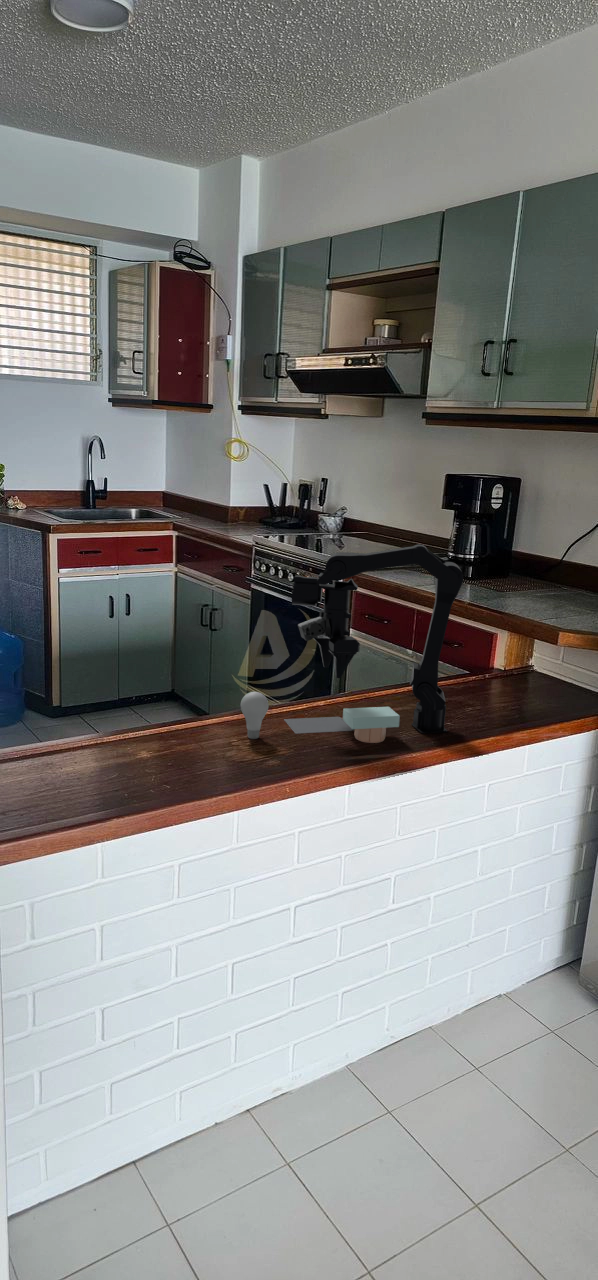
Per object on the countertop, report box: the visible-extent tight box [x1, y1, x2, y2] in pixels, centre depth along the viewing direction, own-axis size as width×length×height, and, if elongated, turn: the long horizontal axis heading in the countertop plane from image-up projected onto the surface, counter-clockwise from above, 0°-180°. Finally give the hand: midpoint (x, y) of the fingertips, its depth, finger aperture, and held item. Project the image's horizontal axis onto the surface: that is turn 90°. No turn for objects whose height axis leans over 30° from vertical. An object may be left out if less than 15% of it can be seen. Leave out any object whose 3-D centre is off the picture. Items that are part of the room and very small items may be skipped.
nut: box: [353, 728, 387, 744], centre depth 196 cm, size 7×7×4 cm
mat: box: [283, 716, 355, 735], centre depth 203 cm, size 14×10×1 cm
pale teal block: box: [342, 706, 401, 730], centre depth 195 cm, size 11×7×3 cm, turn 106°
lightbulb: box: [240, 691, 270, 740], centre depth 191 cm, size 6×6×11 cm
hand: (332, 672), depth 205 cm, fingers open, 9 cm apart
